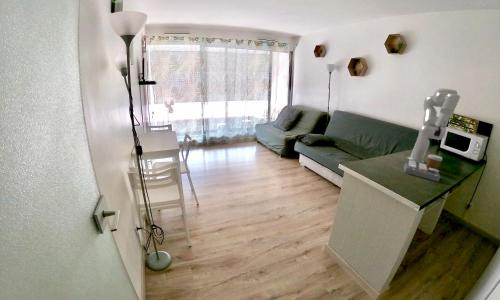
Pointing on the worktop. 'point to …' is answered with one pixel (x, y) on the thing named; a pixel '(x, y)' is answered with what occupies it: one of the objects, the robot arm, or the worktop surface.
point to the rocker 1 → (412, 164)
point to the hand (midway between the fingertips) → (436, 135)
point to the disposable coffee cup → (433, 161)
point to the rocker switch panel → (422, 173)
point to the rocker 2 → (422, 167)
